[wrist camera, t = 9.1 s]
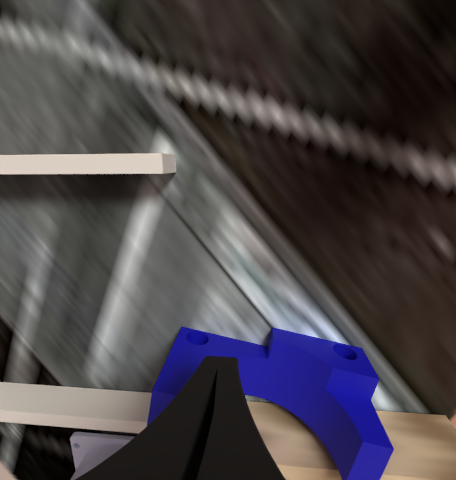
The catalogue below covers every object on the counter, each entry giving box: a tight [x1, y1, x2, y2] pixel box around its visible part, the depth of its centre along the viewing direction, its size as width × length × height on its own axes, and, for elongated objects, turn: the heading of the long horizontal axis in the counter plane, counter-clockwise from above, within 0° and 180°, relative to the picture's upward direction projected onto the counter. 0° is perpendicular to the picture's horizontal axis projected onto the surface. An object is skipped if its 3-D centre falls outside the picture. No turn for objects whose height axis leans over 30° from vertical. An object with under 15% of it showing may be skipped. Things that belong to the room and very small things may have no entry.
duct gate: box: [247, 401, 456, 480], centre depth 18 cm, size 16×1×4 cm, turn 90°
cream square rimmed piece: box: [0, 153, 176, 433], centre depth 18 cm, size 18×18×5 cm
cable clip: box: [147, 327, 394, 480], centre depth 17 cm, size 12×4×6 cm, turn 79°
